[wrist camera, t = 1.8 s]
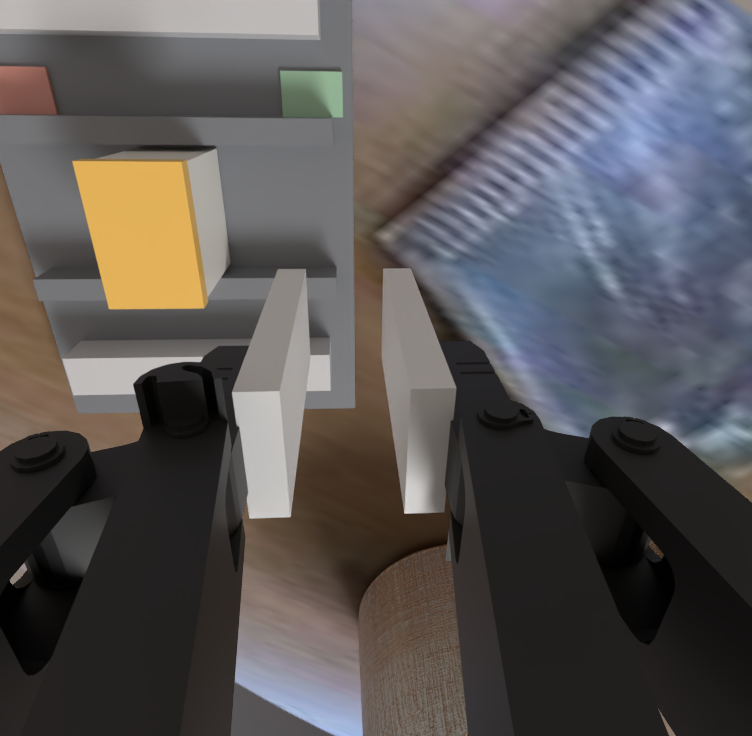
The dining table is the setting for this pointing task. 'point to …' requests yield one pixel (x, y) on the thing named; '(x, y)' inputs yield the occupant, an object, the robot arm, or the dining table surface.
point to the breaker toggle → (156, 225)
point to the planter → (411, 650)
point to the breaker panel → (186, 130)
